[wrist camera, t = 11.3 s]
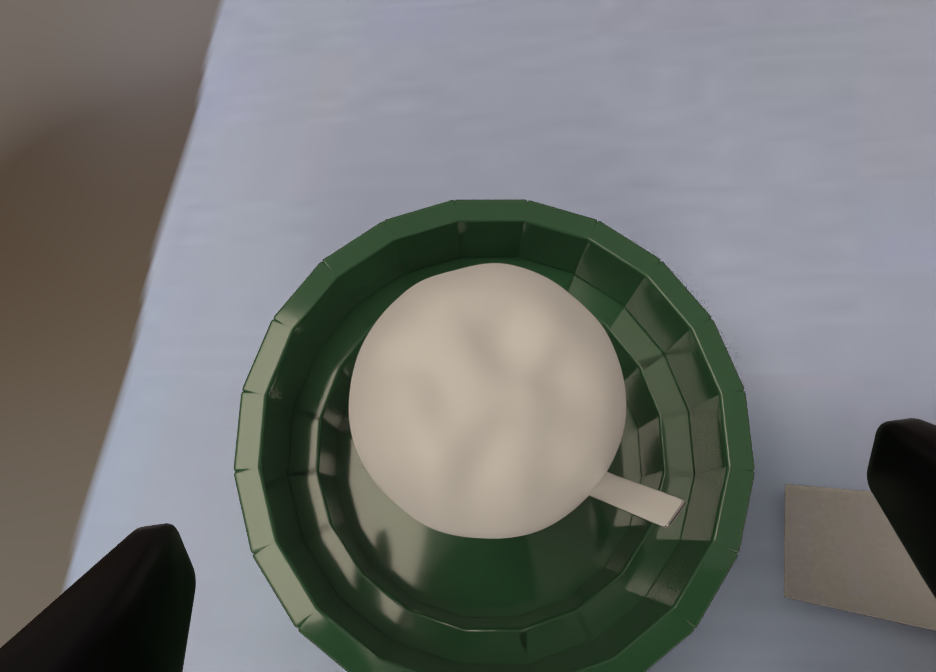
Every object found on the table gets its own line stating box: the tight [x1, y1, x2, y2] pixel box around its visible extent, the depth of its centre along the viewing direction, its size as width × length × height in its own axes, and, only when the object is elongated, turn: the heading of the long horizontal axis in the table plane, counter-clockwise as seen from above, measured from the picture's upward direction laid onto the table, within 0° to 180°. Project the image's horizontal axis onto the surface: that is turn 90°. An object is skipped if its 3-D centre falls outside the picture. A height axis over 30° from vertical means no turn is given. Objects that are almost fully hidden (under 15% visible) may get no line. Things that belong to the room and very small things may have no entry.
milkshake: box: [349, 263, 686, 539], centre depth 14 cm, size 5×5×10 cm
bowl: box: [234, 200, 754, 672], centre depth 17 cm, size 11×11×5 cm
